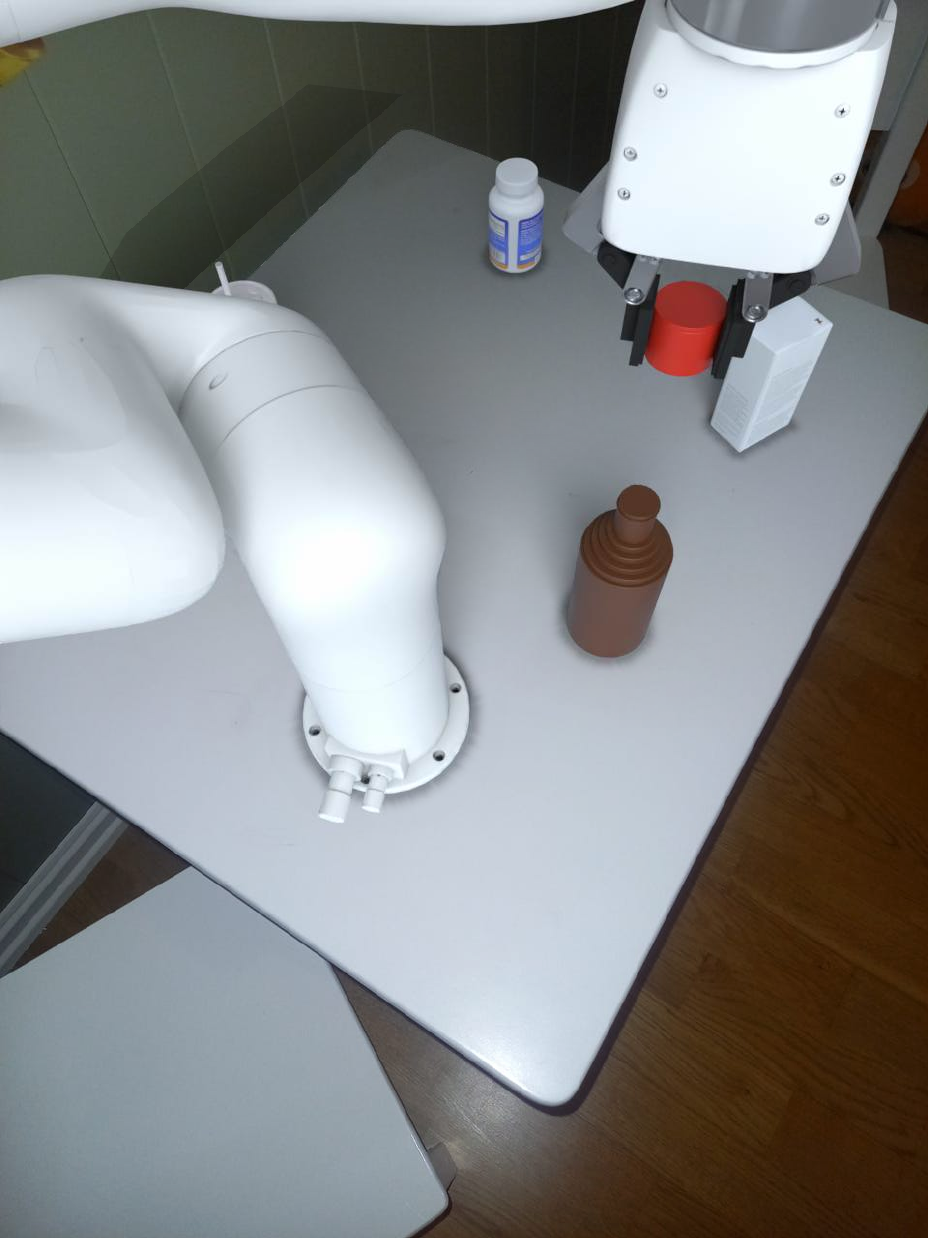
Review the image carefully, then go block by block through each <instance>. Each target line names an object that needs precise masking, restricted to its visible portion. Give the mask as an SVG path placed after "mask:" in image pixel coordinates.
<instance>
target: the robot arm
mask: <svg viewBox="0 0 928 1238" xmlns="http://www.w3.org/2000/svg"><path fill="white" fill-rule="evenodd" d="M633 1H634V0H0V48H4V47H8V46H10V45H14V44H18V43H24V42H27V41H30V40H34V39H38V38H41V37H44V36H48V35H51V34H54V33H59V32H61V31H65V30H68V29H72V28H77V27H78V26H83V25H86V24H90V23H95V22H99V21H101V20H102V21H103V20H105V19H109V18H113V17H117V16H122V15H126V14H132V13H137V12H141V11H147V10H154V9H161V8H189V9H197V10H204V11H212V12H216V13H224V14H232V15H238V16H246V17H253V18H262V19H270V20H271V19H272V20H283V21H284V20H285V21H305V22H306V21H307V22H341V23H342V22H345V23H346V22H353V23H355V22H361V23H362V22H363V23H377V24H396V25H419V26H420V25H422V26H496V25H497V26H499V25H510V24H511V25H512V24H527V23H536V22H542V21H550V20H557V19H563V18H569V17H570V18H571V17H575V16H580V15H584V14H589V13H592V12H598V11H602V10H606V9H610V8H614V7H617V6H620V5H623V4H628V3H630V2H633ZM897 14H898V7H897V4H896V2H895V0H645V2H644V6H643V9H642V12H641V15H640V18H639V21H638V25H637V28H636V32H635V35H634V39H633V43H632V46H631V50H630V55H629V58H628V62H627V67H626V72H625V75H624V79H623V80H624V82H623V85H622V86H623V87H622V91H621V96H620V102H619V106H618V112H617V117H616V122H615V125H614V126H615V127H614V133H613V137H612V143H611V151H610V155H609V160H608V161H607V162H606V164H605V165H604V166H603V167H602V168H601V170H600V171H599V172H598V173H597V174H596V175H595V177H594V178H593V179H592V180H591V181H590V182H589V183H588V184H587V186H586V187H585V188H584V189H583V190H582V192H581V193H580V194H579V195H578V196H577V197H576V198H575V200H574V201H572V203H571V204H570V205H569V207H568V208H567V210H566V212H565V216H564V219H563V222H562V223H563V224H562V227H561V231H562V234H563V235H564V236H565V237H566V238H567V239H568V240H569V241H571V242H572V243H574V244H575V245H577V246H578V247H579V248H580V249H582V250H584V251H585V252H586V253H587V254H589V255H591V254H592V255H593V256H595V257H596V260H597V261H596V262H597V263H598V264H599V266H600V267H601V268H602V269H603V270H604V271H605V272H606V274H607V275H609V277H611V280H613V281H614V282H615V283H616V285H618V287H620V289H621V290H622V292H621V298H622V300H623V302H625V303H626V305H625V311H624V316H623V320H622V326H621V333H620V339H619V341H624V342H625V341H626V342H632V345H631V350H630V356H629V361H628V366H630V367H637V368H638V367H639V365H643V362H644V358H645V355H644V354H645V349H646V345H647V340H648V335H649V331H650V326H651V322H652V317H653V312H654V307H655V302H656V297H657V292H658V291H659V285H660V281H661V273H658V272H659V269H660V266H661V265H662V262H663V260H664V259H666V260H672V261H679V262H688V263H694V264H701V265H708V266H716V267H724V268H731V269H737V270H738V269H739V270H746V274H745V277H743V278H737V281H736V284H732V285H731V288H730V291H729V294H728V298H727V300H726V301H727V309H726V317H725V320H724V323H723V326H722V330H721V333H720V336H719V340H718V343H717V346H716V350H715V353H714V356H713V361H712V363H711V370H710V376H712V377H713V379H714V380H721V381H724V379H725V376H726V373H727V370H728V367H729V364H730V361H731V358H732V357H737V358H743V357H744V355H745V352H746V350H747V347H748V344H749V341H750V338H751V336H752V333H753V330H754V327H755V324H756V322H760V321H762V320H764V319H765V318H766V317H767V314H768V310H770V309H772V308H774V307H776V306H778V305H780V304H782V303H784V302H786V301H788V300H790V299H792V298H794V297H796V296H801V295H802V294H804V293H807V291H809V289H810V288H811V287H812V286H816V285H817V287H819V286H822V285H825V284H829V283H832V282H836V281H840V280H842V279H846V278H849V277H852V276H855V275H856V274H857V273H858V272H859V271H860V270H861V268H862V243H861V240H860V236H859V233H858V230H857V226H856V222H855V217H854V215H853V210H852V207H851V203H850V200H849V197H850V194H851V191H852V189H853V185H854V182H855V179H856V176H857V174H858V173H857V172H858V170H859V167H860V163H861V161H862V158H863V154H864V151H865V149H866V144H867V142H868V138H869V135H870V132H871V129H872V126H873V122H874V118H875V114H876V109H877V107H878V103H879V99H880V95H881V92H882V88H883V85H884V81H885V76H886V72H887V67H888V62H889V59H890V58H889V57H890V52H891V49H892V43H893V38H894V35H895V34H894V33H895V28H896V21H897ZM446 527H447V526H446V520H445V517H444V513H443V511H442V507H441V505H440V503H439V500H438V499H437V496H436V494H435V492H434V490H433V487H432V486H431V484H430V483H429V480H428V479H427V476H426V475H425V473H424V472H423V470H422V469H421V467H420V465H419V464H418V462H417V461H416V459H415V458H414V456H413V454H412V453H411V452H410V450H409V448H408V447H407V446H406V444H405V442H404V441H403V440H402V438H401V437H400V436H399V434H398V433H397V431H396V430H395V428H394V427H393V426H392V424H391V422H390V421H389V419H388V418H387V416H386V415H385V414H384V412H383V411H382V409H381V408H380V406H379V405H378V404H377V403H376V402H375V401H374V400H373V398H372V397H371V396H370V394H369V393H368V391H367V389H366V388H365V387H364V385H363V384H362V383H361V381H360V380H359V378H358V376H357V375H356V374H355V372H354V370H353V369H352V368H351V366H350V365H349V364H348V362H347V361H346V359H345V358H344V356H343V355H342V354H341V352H340V351H339V349H338V348H337V347H336V345H335V344H334V343H333V342H332V340H331V339H330V338H329V337H328V335H327V334H325V332H324V331H323V330H322V329H321V328H320V327H319V326H318V325H317V324H316V323H314V322H313V321H312V320H310V318H308V317H306V316H304V315H303V314H301V313H299V312H297V311H295V310H293V309H291V308H288V307H286V306H283V305H280V304H278V305H277V304H273V303H270V302H266V301H261V300H256V299H249V298H243V297H236V296H228V295H221V294H213V293H212V292H206V291H198V290H190V289H183V288H176V287H167V286H159V285H151V284H144V283H137V282H129V281H122V280H113V279H107V278H106V279H105V278H99V277H92V276H91V277H90V276H80V275H71V274H55V273H53V274H52V273H51V274H50V273H45V274H43V273H41V274H29V275H20V276H16V277H10V278H6V279H1V280H0V645H1V644H9V643H17V642H24V641H25V642H26V641H32V640H40V639H47V638H55V637H61V636H69V635H77V634H82V633H84V634H85V633H90V632H98V631H104V630H112V629H117V628H118V629H119V628H124V627H129V626H134V625H139V624H143V623H148V622H152V621H156V620H160V619H163V618H165V617H169V616H171V615H174V614H177V613H179V612H181V611H183V610H185V609H187V608H189V607H190V606H192V605H193V604H195V603H197V601H199V600H201V599H202V598H204V596H206V595H207V594H208V593H209V591H210V590H212V588H213V586H214V585H215V583H216V581H217V580H218V578H219V576H220V575H221V573H222V570H223V567H224V563H225V556H226V546H227V535H228V538H229V540H230V541H231V543H232V545H233V548H234V549H235V551H236V553H237V555H238V557H239V559H240V562H241V563H242V565H243V568H244V569H245V571H246V573H247V576H248V577H249V579H250V581H251V583H252V586H253V588H254V589H255V592H256V593H257V595H258V597H259V599H260V602H261V603H262V605H263V607H264V609H265V610H266V613H267V614H268V616H269V619H270V621H271V624H272V625H273V627H274V629H275V631H276V633H277V637H278V638H279V640H280V642H281V644H282V646H283V648H284V651H285V653H286V655H287V656H288V658H289V660H290V661H291V663H292V666H293V668H294V669H295V671H296V674H297V676H298V678H299V680H300V682H301V684H302V686H303V688H304V690H305V696H304V700H303V708H302V725H303V732H304V733H303V734H304V736H305V739H306V742H307V745H308V747H309V750H310V751H311V753H312V755H313V757H314V758H315V759H316V761H317V763H318V764H319V766H320V767H321V768H322V769H323V770H324V771H325V772H326V773H327V774H328V775H329V776H330V779H329V781H328V782H329V783H328V786H327V789H326V790H325V791H324V792H323V796H322V799H321V803H320V806H319V809H318V813H317V816H318V818H321V819H322V820H325V821H327V822H332V823H337V824H345V822H346V819H347V815H348V812H349V808H350V804H351V802H352V801H351V800H352V798H353V797H352V796H351V795H352V793H353V789H354V790H356V791H359V792H363V793H365V794H364V796H363V799H362V803H361V809H363V810H364V811H367V812H370V813H376V814H377V813H378V814H379V813H381V811H382V807H383V803H384V801H385V797H386V795H388V794H389V795H390V794H398V793H401V792H407V791H411V790H413V789H416V788H418V787H421V786H422V785H425V784H427V783H428V782H430V781H432V779H435V777H437V776H439V775H441V773H442V772H443V771H444V770H445V769H446V768H447V767H448V766H449V765H450V764H451V763H452V762H453V760H455V757H457V755H458V754H459V752H460V751H461V748H462V746H463V743H464V741H465V739H466V737H467V733H468V730H469V729H468V728H469V725H470V700H469V699H470V698H469V693H468V690H467V686H466V682H465V680H464V678H463V676H462V674H461V673H460V671H459V669H458V668H457V666H456V665H455V663H453V661H452V660H451V659H450V658H449V657H448V656H447V655H446V654H444V648H443V638H442V637H443V636H442V627H441V618H440V610H439V603H438V592H437V591H438V590H437V580H438V574H439V571H440V567H441V563H442V561H443V557H444V553H445V549H446V543H447V528H446ZM226 534H227V535H226ZM455 690H457V691H458V692H454V691H455ZM316 732H319V733H318V734H315V733H316ZM438 757H440V758H442V760H437V759H438ZM366 780H369V781H368V783H366Z"/></svg>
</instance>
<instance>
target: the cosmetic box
mask: <svg viewBox="0 0 928 1238" xmlns="http://www.w3.org/2000/svg"><path fill="white" fill-rule="evenodd" d="M833 326H834V323H833V322H832V321H831V320H829V319H828V318H826V316H824V315H823V314H822V313H820V312H819V311H818V310H817V309H816V308H815V307H813V306H812V305H811V304H810V303H809V302H807V300H805V299H803V298H802V296H801V295H798V296H796V297H794V298H792V299H790V300H788V301H786V302H784V303H782V304H780V305H778V306H776V307H774V308H772V309H770V310H768V314H767V317H766V318H765V319H764V320H762V321H760V322H756V324H755V327H754V330H753V333H752V336H751V338H750V341H749V344H748V347H747V350H746V352H745V355H744V357H743V358H737V357H732V358H731V361H730V364H729V367H728V370H727V373H726V376H725V379H724V380H723V383H722V386H721V389H720V391H719V395H718V398H717V401H716V403H715V407H714V410H713V412H712V416H711V419H710V426H711V428H713V429H714V430H715V431H716V433H718V434H719V435H720V436H721V437H722V438H723V439H724V440H726V442H727V443H728V444H729V445H730V446H731V447H733V449H734V450H735V451H737V452H738V453H741V452H744V451H745V450H747V449H749V448H750V447H752V446H753V445H755V444H757V443H759V442H760V441H762V440H763V439H766V438H768V437H769V436H770V435H773V434H774V433H775V432H778V431H780V430H781V429H783V428H784V427H786V426H788V425H789V424H790V422H791V419H792V417H793V415H794V413H795V410H796V408H797V406H798V404H799V402H800V400H801V398H802V395H803V392H804V391H805V389H806V386H807V384H808V382H809V379H810V377H811V375H812V374H813V373H812V372H813V371H814V369H815V367H816V364H817V362H818V360H819V357H820V355H821V353H822V350H823V349H824V346H825V344H826V342H827V339H828V337H829V335H830V333H831V331H832V328H833Z"/></svg>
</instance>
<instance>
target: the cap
mask: <svg viewBox="0 0 928 1238" xmlns="http://www.w3.org/2000/svg"><path fill="white" fill-rule="evenodd" d="M727 301H728V300H727V299H726V297H725V296H724V295H723V294H722V293H721V292H720V291H719V290H718V289H716V288H715V287H713V286H711V285H708V284H707V283H703V282H701V281H700V282H699V281H694V280H692V281H691V280H681V281H674V282H671V283H668V284H666V285H664V286H662V287H661V288H660V289H658V292H657V297H656V302H655V307H654V312H653V317H652V322H651V326H650V331H649V335H648V340H647V345H646V349H645V354H644V358H645V359H646V362H648V364H649V365H650V366H651V367H652V368H654V369H655V370H656V371H658V372H660V373H663V374H665V375H668V376H672V377H679V378H680V377H681V378H687V377H693V376H697V375H699V374H701V373H703V372H705V371H706V370H708V368H710V366H712V362H713V356H714V353H715V350H716V346H717V343H718V340H719V336H720V333H721V330H722V326H723V323H724V320H725V317H726V309H727Z"/></svg>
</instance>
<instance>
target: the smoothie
mask: <svg viewBox="0 0 928 1238" xmlns="http://www.w3.org/2000/svg"><path fill="white" fill-rule="evenodd" d="M214 266H215V268H216V272H217V275H218V278H219V280H220V284H221V286H218V287H217V288H215V289H214V290H213V291H212V292H211V293H213V294H221V295H228V296H236V297H243V298H249V299H256V300H261V301H266V302H270V303H273V304H277V305H279V303H278V302H277V299H276V295H275V293H274V292H273V290H272V289H271V288H269V287H268V286H267V285H265V284H263V283H261V282H259V281H254V280H246V279H245V280H234V281H230V282H229V281H228V277H227V275H226V271H225V268H224V265H223V263H222V261H217V262H215V263H214Z"/></svg>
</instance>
